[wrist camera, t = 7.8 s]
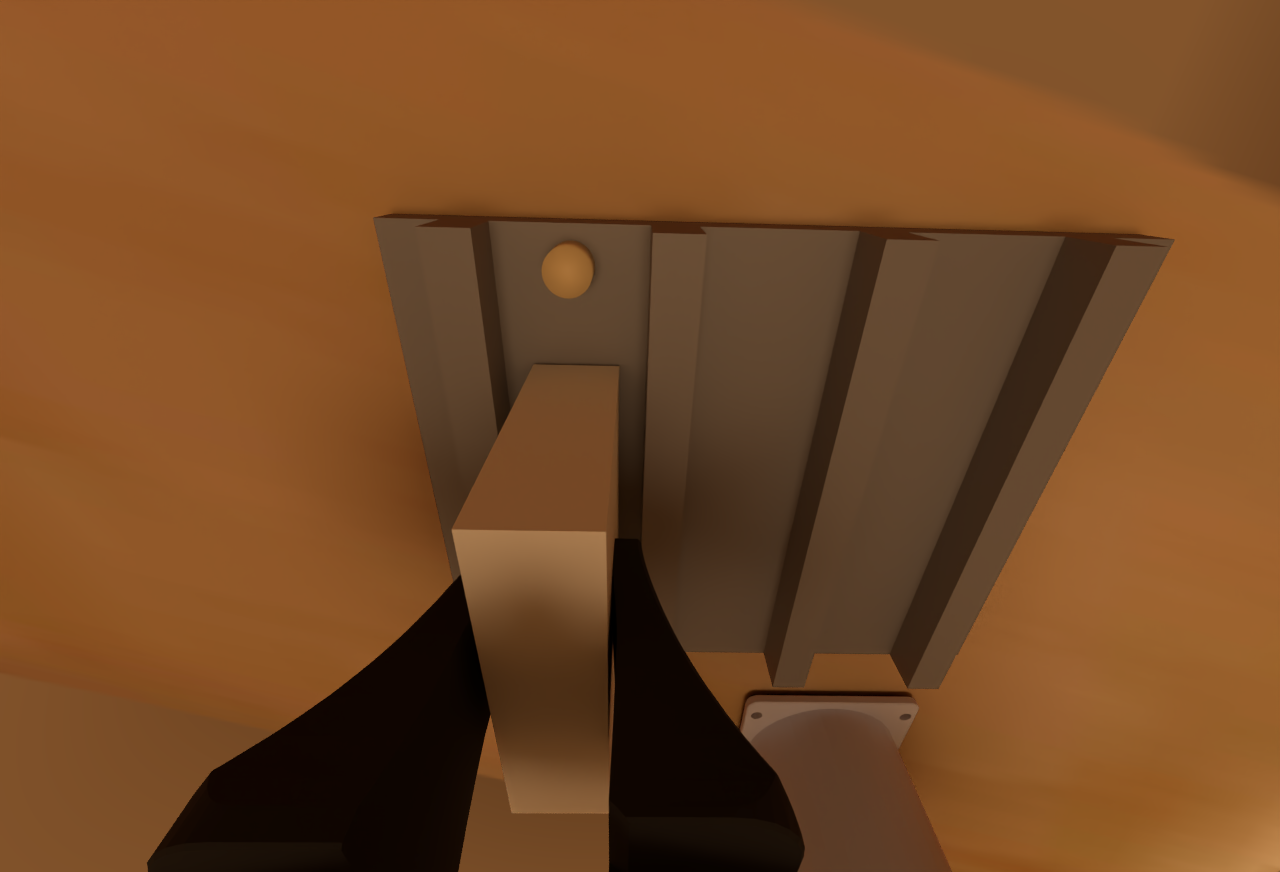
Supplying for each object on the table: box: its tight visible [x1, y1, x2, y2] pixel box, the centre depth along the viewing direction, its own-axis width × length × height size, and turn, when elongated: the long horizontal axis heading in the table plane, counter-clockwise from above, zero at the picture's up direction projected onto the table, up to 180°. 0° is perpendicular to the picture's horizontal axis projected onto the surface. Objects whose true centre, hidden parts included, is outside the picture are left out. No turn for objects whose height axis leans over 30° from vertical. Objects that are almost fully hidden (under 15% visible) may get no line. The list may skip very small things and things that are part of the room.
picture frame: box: [451, 364, 619, 814], centre depth 13 cm, size 9×2×7 cm, turn 179°
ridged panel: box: [373, 214, 1174, 689], centre depth 16 cm, size 16×20×2 cm
